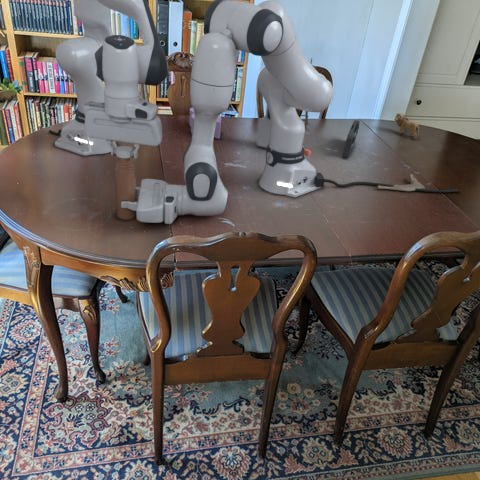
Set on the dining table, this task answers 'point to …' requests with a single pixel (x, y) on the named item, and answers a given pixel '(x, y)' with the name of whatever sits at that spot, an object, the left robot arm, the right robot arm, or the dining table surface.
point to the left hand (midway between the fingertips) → (124, 156)
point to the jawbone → (405, 187)
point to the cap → (123, 151)
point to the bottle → (125, 187)
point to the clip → (217, 128)
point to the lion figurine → (406, 124)
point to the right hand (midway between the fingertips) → (122, 198)
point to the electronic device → (264, 131)
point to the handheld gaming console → (351, 139)
